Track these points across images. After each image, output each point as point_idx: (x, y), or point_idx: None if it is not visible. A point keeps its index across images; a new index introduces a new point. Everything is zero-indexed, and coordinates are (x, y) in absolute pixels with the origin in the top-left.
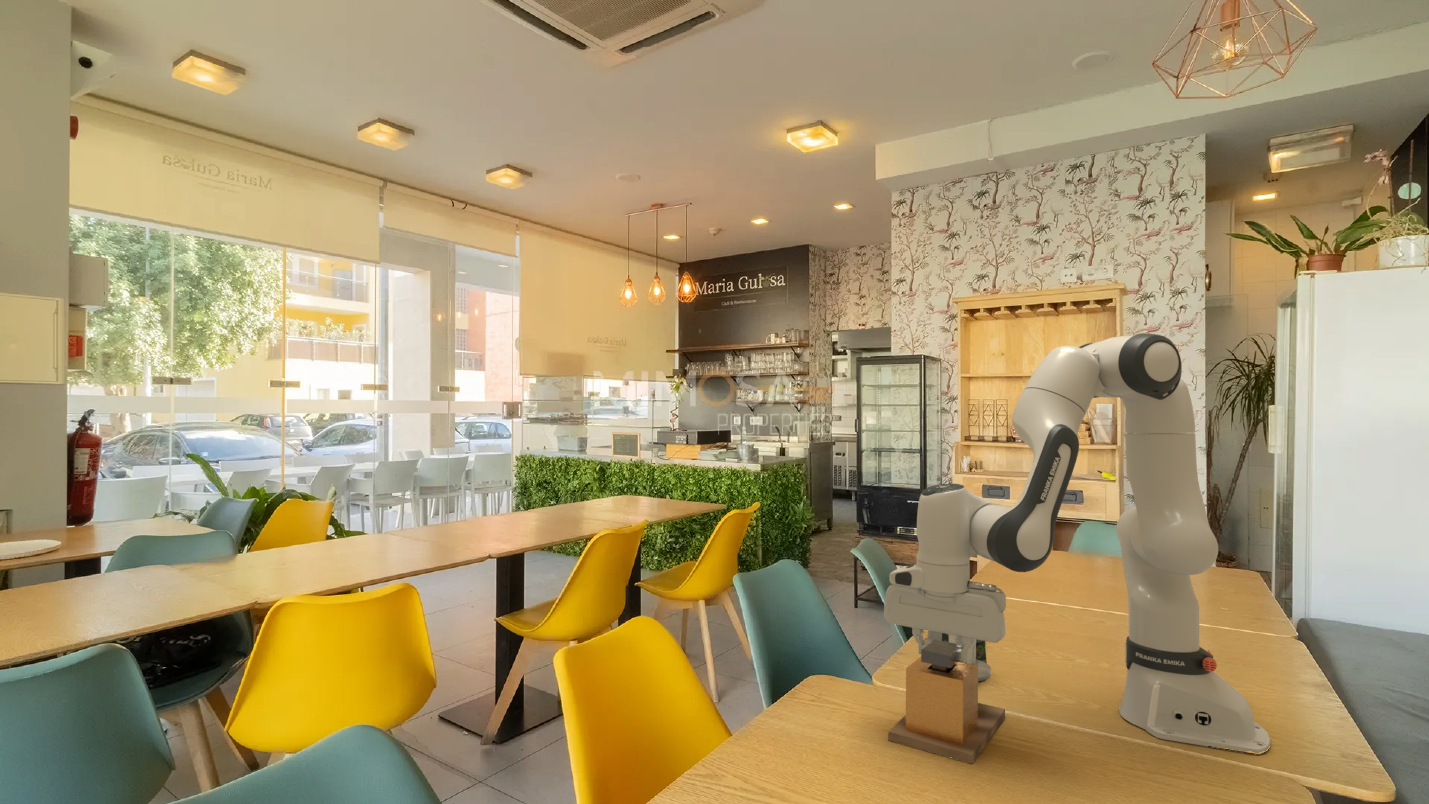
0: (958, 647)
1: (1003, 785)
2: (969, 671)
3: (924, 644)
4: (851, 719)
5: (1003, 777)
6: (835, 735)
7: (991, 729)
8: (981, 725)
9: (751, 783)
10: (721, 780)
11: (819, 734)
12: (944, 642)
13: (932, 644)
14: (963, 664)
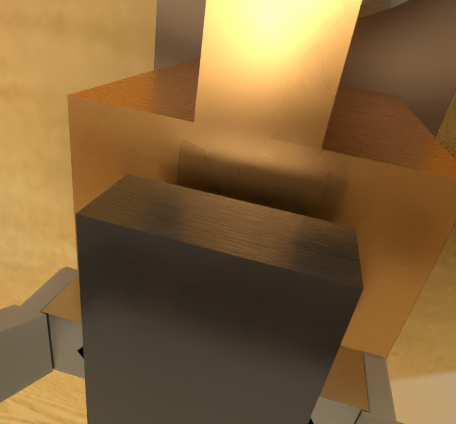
0: (317, 366)
1: (430, 352)
2: (391, 320)
3: (62, 357)
4: (36, 147)
5: (437, 322)
6: (52, 245)
7: (450, 98)
8: (413, 88)
9: (42, 412)
10: (10, 411)
11: (26, 251)
12: (176, 268)
13: (107, 343)
14: (356, 209)
